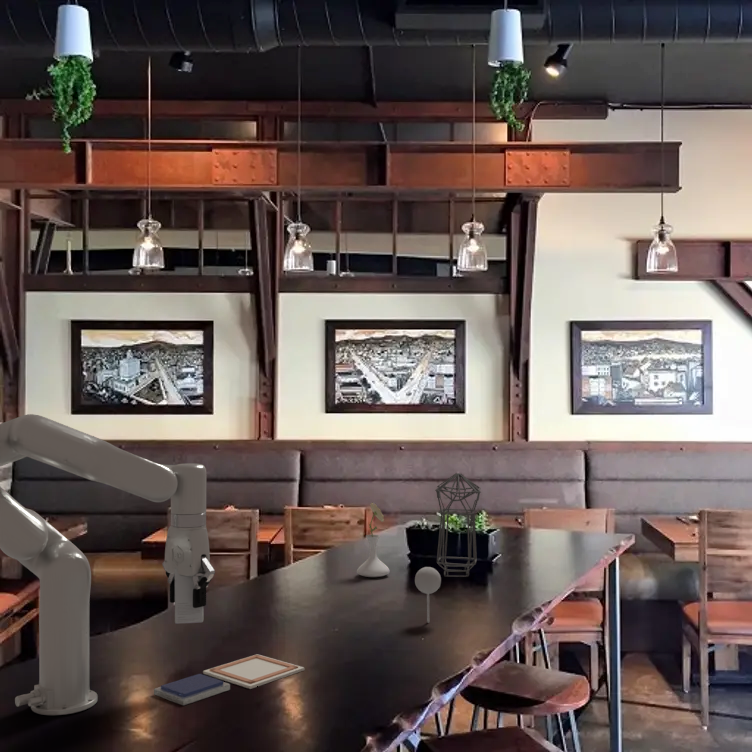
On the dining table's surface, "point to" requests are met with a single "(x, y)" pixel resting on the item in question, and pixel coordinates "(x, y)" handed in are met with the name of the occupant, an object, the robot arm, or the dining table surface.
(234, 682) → the white square board
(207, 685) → the ink pad
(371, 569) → the flower in vase
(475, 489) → the geometric lantern
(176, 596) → the skincare box
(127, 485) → the robot arm
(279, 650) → the dining table surface
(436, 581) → the lollipop
